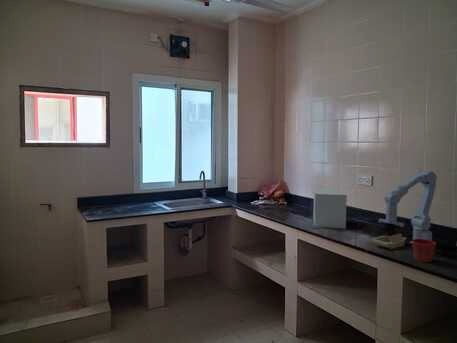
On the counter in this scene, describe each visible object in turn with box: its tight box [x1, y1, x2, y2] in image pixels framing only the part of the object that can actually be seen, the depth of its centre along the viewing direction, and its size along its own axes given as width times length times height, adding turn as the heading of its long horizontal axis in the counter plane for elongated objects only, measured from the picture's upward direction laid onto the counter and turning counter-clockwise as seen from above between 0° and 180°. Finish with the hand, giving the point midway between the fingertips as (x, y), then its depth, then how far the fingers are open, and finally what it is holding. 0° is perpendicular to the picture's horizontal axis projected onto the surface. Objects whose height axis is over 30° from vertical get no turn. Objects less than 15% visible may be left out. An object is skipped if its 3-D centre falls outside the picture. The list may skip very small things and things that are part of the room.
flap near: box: [389, 232, 404, 243], centre depth 199 cm, size 4×12×1 cm
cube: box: [312, 188, 348, 229], centre depth 254 cm, size 25×21×24 cm
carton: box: [370, 235, 407, 250], centre depth 202 cm, size 11×22×3 cm, turn 125°
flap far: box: [369, 235, 386, 241], centre depth 208 cm, size 4×12×1 cm, turn 125°
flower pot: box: [411, 238, 437, 263], centre depth 177 cm, size 11×11×10 cm
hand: (390, 236), depth 202 cm, fingers closed
